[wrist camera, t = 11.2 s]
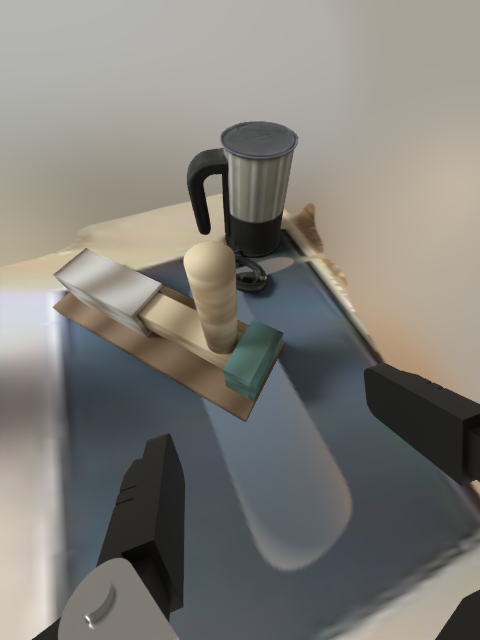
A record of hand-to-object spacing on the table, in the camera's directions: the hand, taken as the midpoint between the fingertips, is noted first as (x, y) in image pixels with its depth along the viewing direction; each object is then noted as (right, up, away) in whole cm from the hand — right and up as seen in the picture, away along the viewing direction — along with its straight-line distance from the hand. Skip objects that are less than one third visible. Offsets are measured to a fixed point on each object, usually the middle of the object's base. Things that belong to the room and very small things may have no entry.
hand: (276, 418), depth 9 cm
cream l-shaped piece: (-7, +2, +19) cm, 21 cm away
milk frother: (0, +14, +30) cm, 33 cm away
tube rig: (-11, +3, +22) cm, 25 cm away
